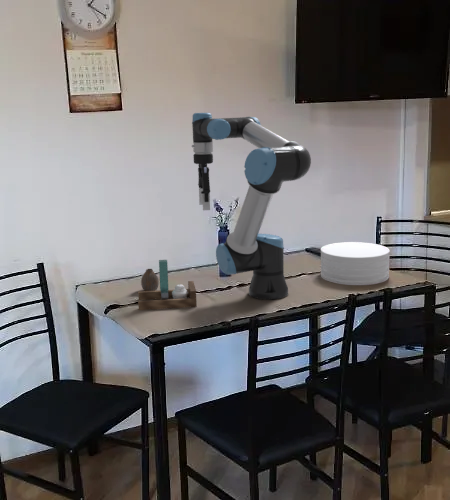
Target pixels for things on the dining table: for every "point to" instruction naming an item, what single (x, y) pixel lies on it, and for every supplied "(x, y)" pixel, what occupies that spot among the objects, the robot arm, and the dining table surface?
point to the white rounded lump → (179, 292)
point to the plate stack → (355, 263)
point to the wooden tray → (169, 302)
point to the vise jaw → (163, 279)
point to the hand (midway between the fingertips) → (204, 207)
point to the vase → (149, 281)
